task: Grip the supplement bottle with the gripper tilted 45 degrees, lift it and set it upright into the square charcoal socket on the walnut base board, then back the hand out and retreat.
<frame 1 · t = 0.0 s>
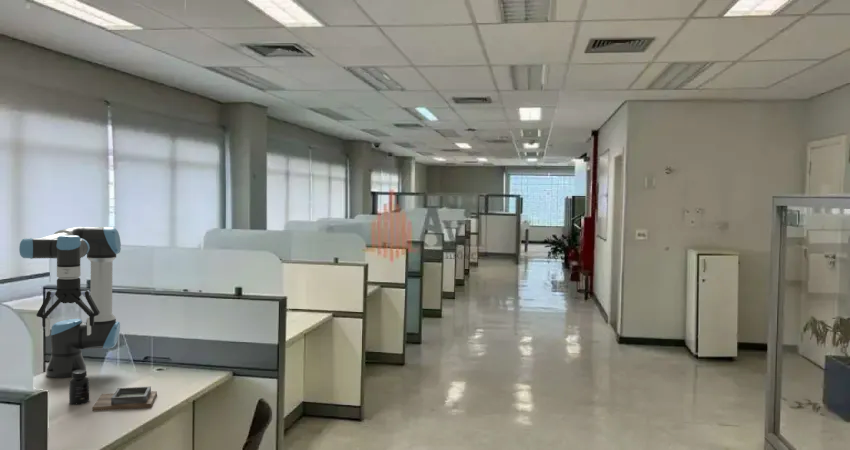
hand: (68, 335, 228), 28 cm above the table, tool pointing down, fingers open, 13 cm apart
base board: (125, 402, 239), on the table
supplement bottle: (79, 402, 237), on the table
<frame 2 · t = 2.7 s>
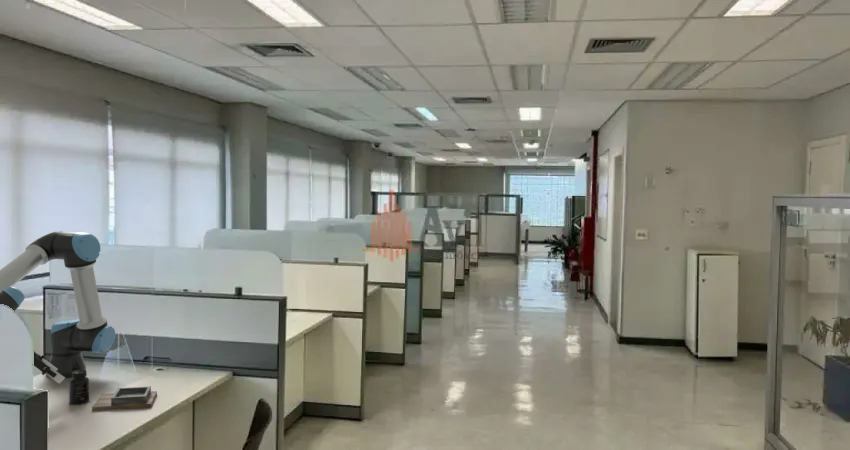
hand: (58, 376, 232), 11 cm above the table, tool tilted 45°, fingers open, 13 cm apart
nothing on the table moved.
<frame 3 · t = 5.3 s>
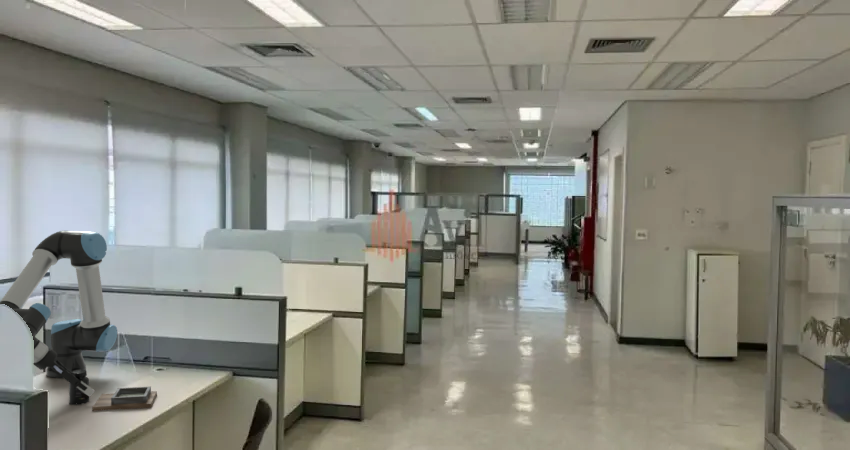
hand: (89, 390, 240), 4 cm above the table, tool tilted 45°, fingers closed on supplement bottle, 7 cm apart
supplement bottle: (79, 402, 237), on the table, touching gripper
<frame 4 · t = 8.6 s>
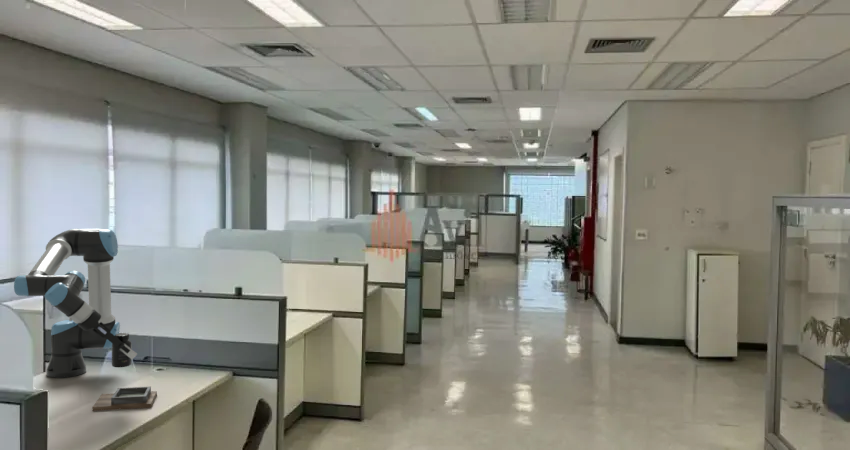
hand: (131, 354, 239), 19 cm above the table, tool tilted 45°, fingers closed on supplement bottle, 7 cm apart
supplement bottle: (121, 365, 237), point 15 cm above the table, touching gripper
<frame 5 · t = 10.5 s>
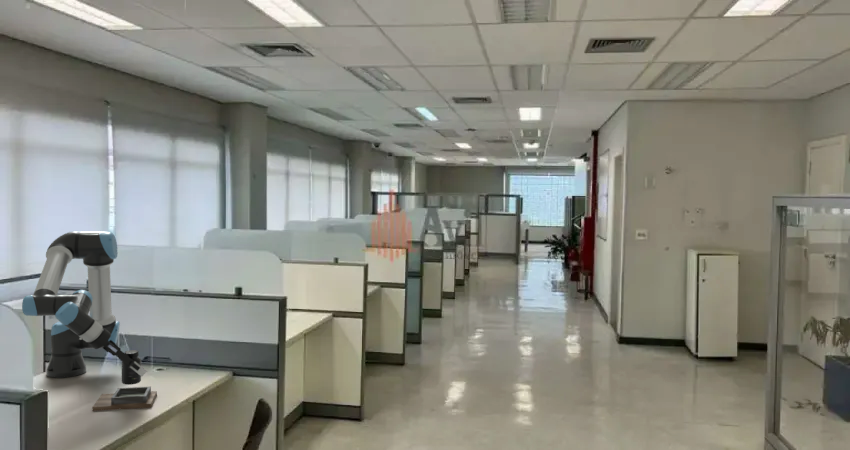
hand: (141, 371, 240), 12 cm above the table, tool tilted 45°, fingers closed on supplement bottle, 7 cm apart
supplement bottle: (131, 382, 238), point 8 cm above the table, touching gripper
when the fingers open (7 cm above the table, at t = 12.1 s): supplement bottle drops 1 cm, resting on base board.
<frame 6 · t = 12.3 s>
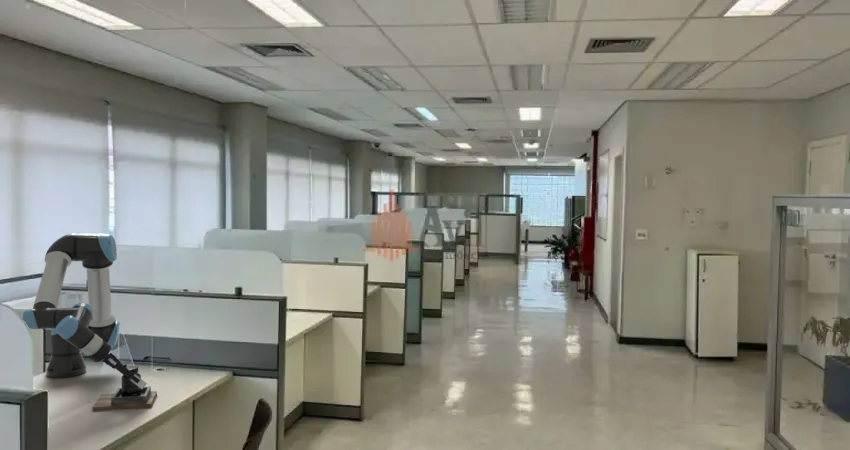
hand: (140, 382, 241), 7 cm above the table, tool tilted 45°, fingers open, 9 cm apart
supplement bottle: (131, 398, 239), point 2 cm above the table, touching base board
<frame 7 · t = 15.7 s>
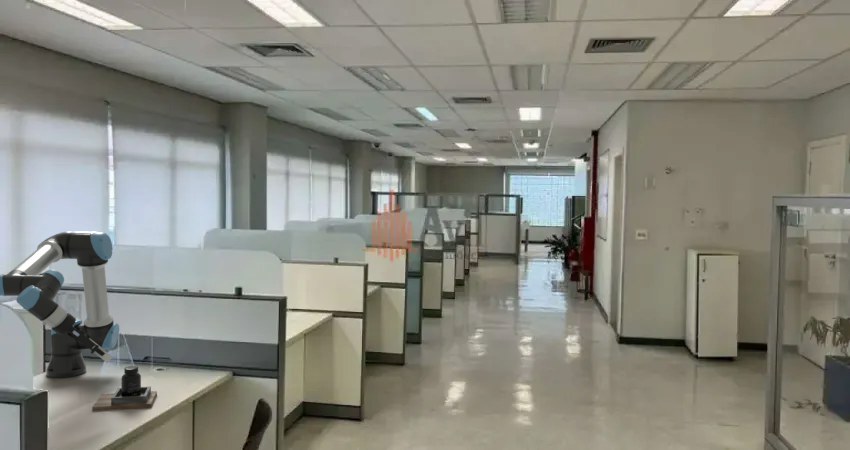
hand: (105, 355, 232), 20 cm above the table, tool tilted 45°, fingers open, 13 cm apart
nothing on the table moved.
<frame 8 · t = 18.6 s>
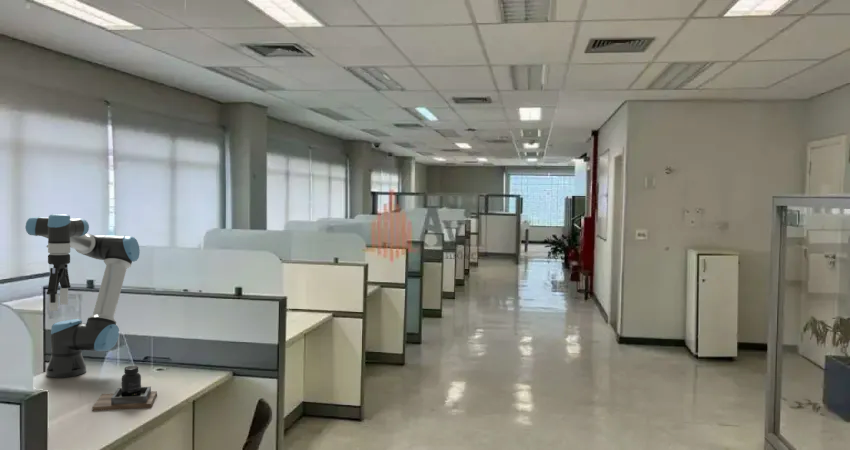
hand: (58, 307, 244), 35 cm above the table, tool pointing down, fingers open, 13 cm apart
nothing on the table moved.
at the end: supplement bottle 0.2 cm from the target spot on the base board, point 1.5 cm above the base board's base; supplement bottle tilted 0°; the gripper is holding nothing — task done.
